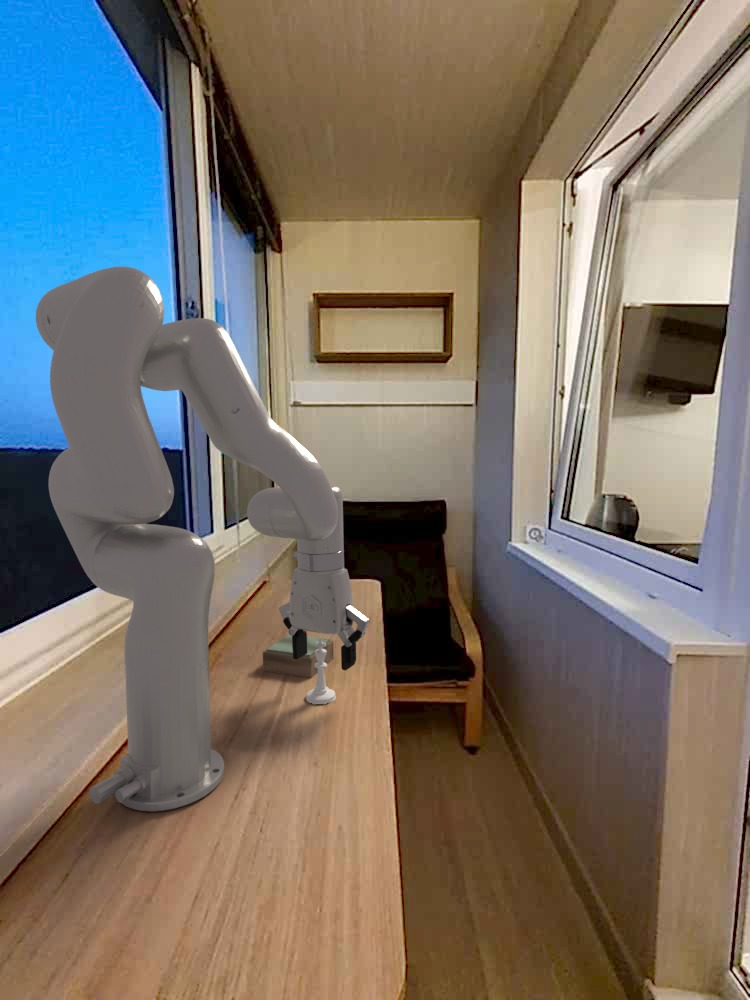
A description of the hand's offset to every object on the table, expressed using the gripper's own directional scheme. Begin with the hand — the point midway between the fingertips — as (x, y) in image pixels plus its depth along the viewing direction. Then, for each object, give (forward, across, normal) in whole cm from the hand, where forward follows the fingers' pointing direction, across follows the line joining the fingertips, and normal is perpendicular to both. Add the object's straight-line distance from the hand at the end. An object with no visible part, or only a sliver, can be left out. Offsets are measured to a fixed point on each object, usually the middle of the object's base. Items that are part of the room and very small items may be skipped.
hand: (323, 661), depth 90 cm
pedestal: (+6, -12, +9) cm, 16 cm away
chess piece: (+6, 0, -1) cm, 6 cm away
